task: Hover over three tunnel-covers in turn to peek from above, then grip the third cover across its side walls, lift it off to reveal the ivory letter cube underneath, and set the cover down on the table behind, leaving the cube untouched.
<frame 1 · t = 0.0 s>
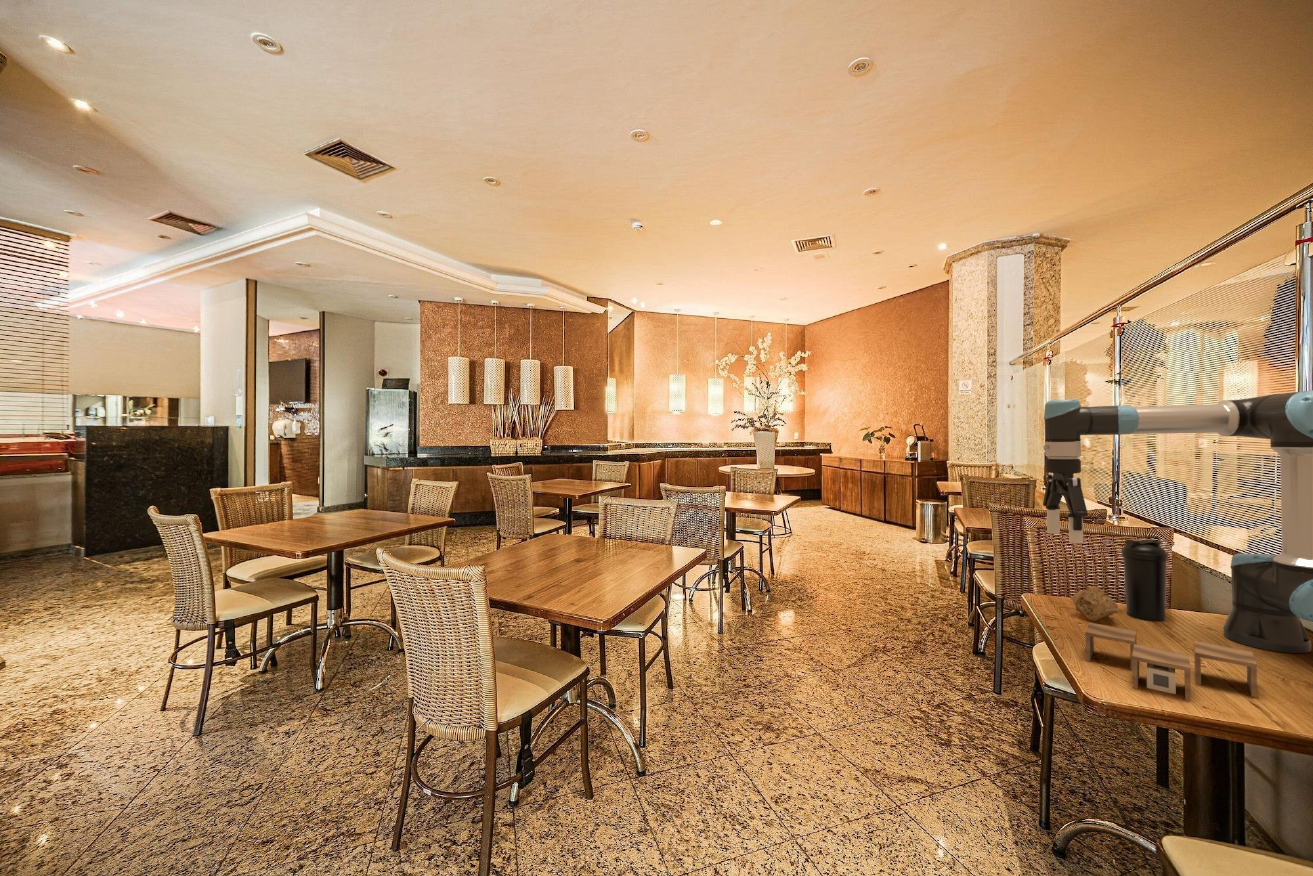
hand: (1064, 538, 141), 28 cm above the table, fingers open, 13 cm apart
water bottle: (1145, 617, 160), on the table
rock: (1099, 620, 158), on the table
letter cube: (1161, 687, 116), on the table
cover a: (1224, 683, 117), on the table
cover b: (1111, 659, 131), on the table
cover c: (1161, 687, 116), on the table
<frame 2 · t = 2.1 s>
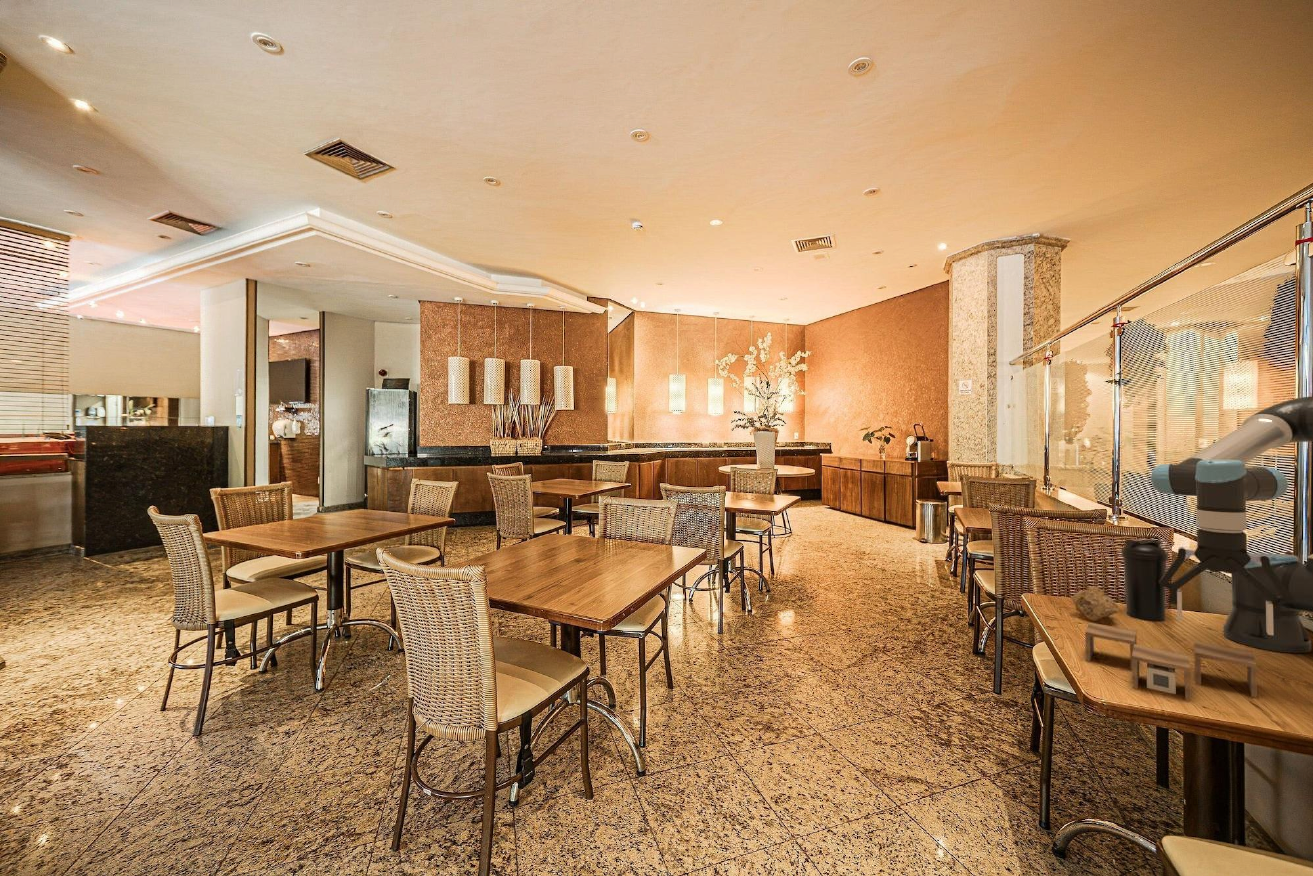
hand: (1223, 626, 117), 13 cm above the table, fingers open, 13 cm apart
nothing on the table moved.
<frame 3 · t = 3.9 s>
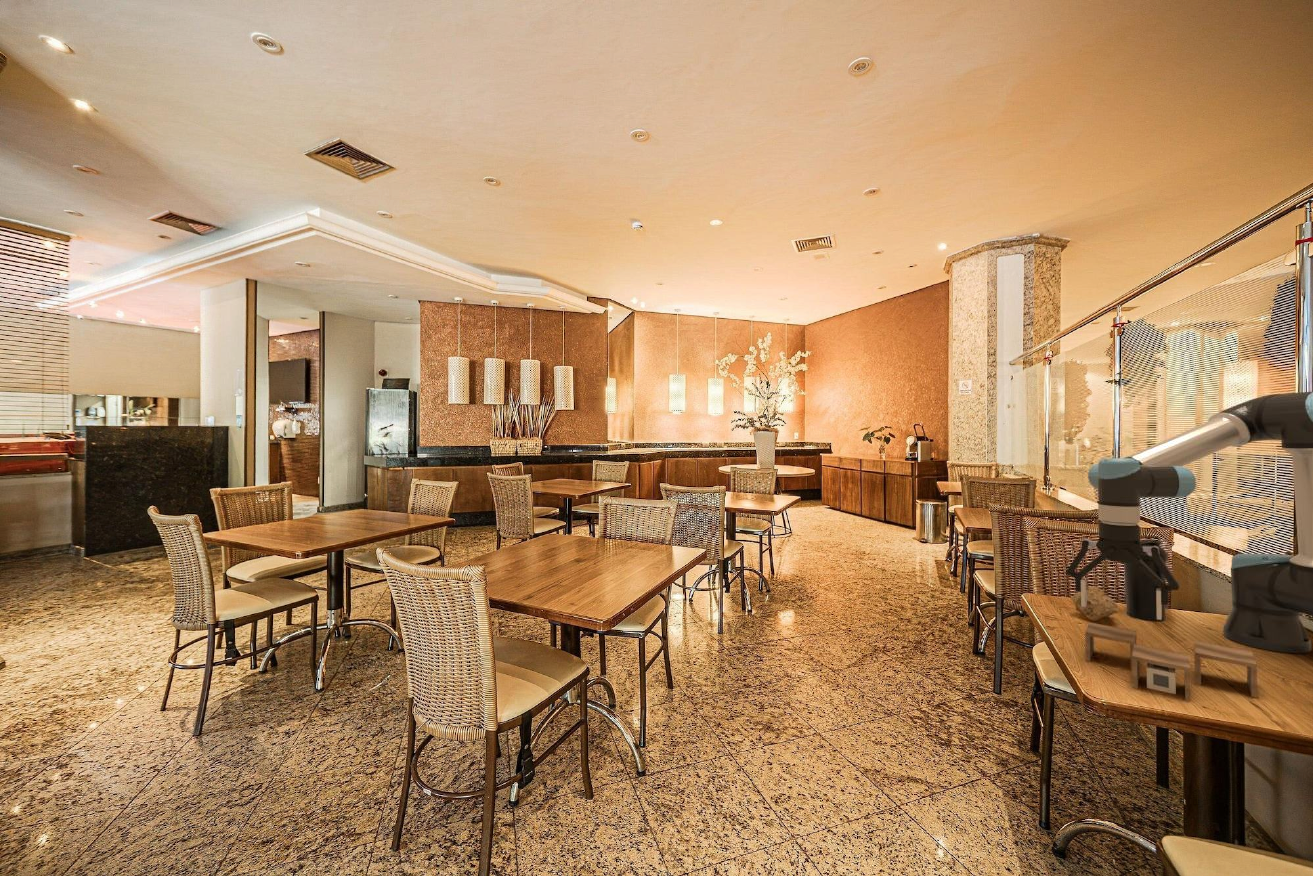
hand: (1120, 611, 127), 13 cm above the table, fingers open, 13 cm apart
nothing on the table moved.
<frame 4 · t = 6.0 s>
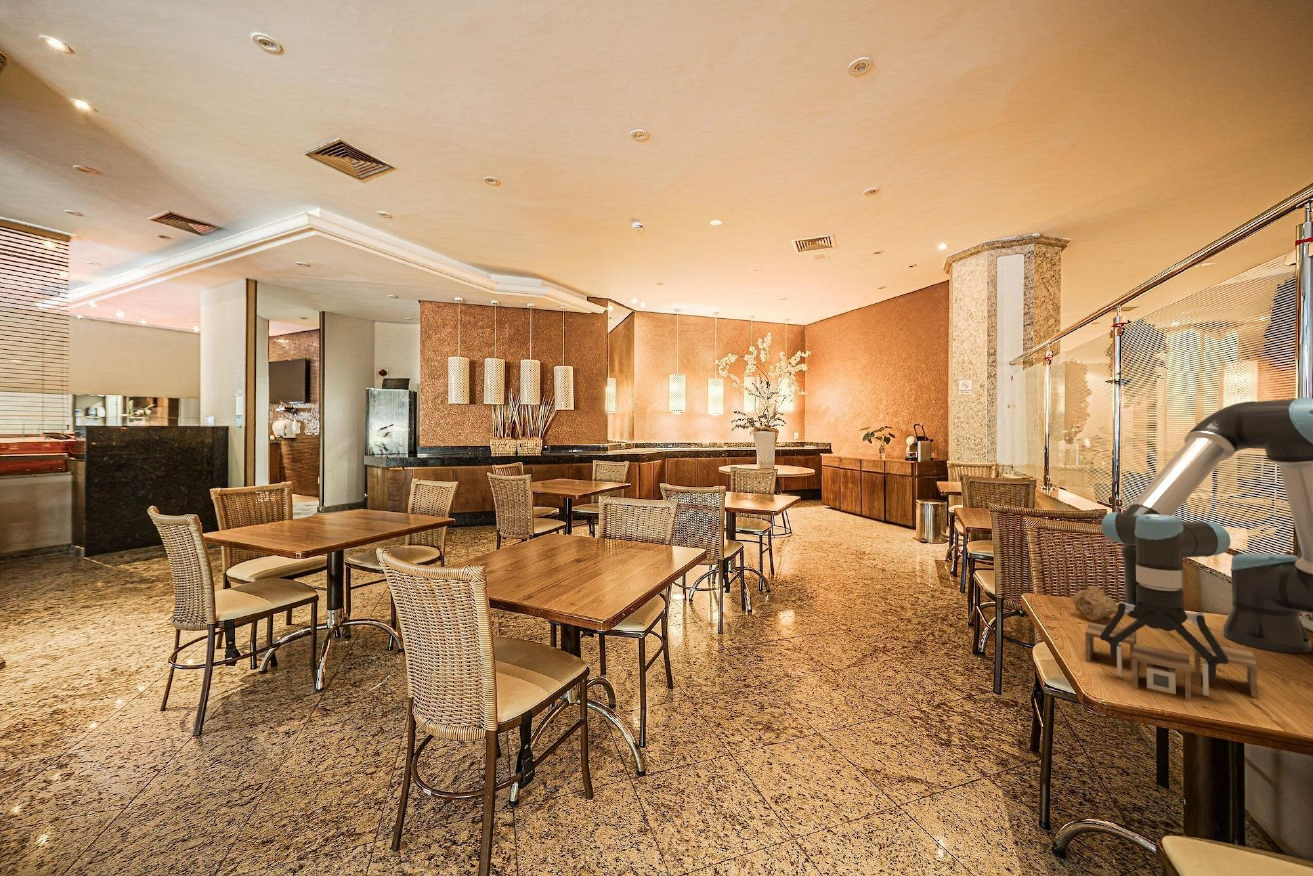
hand: (1161, 683, 116), 1 cm above the table, fingers open, 13 cm apart
nothing on the table moved.
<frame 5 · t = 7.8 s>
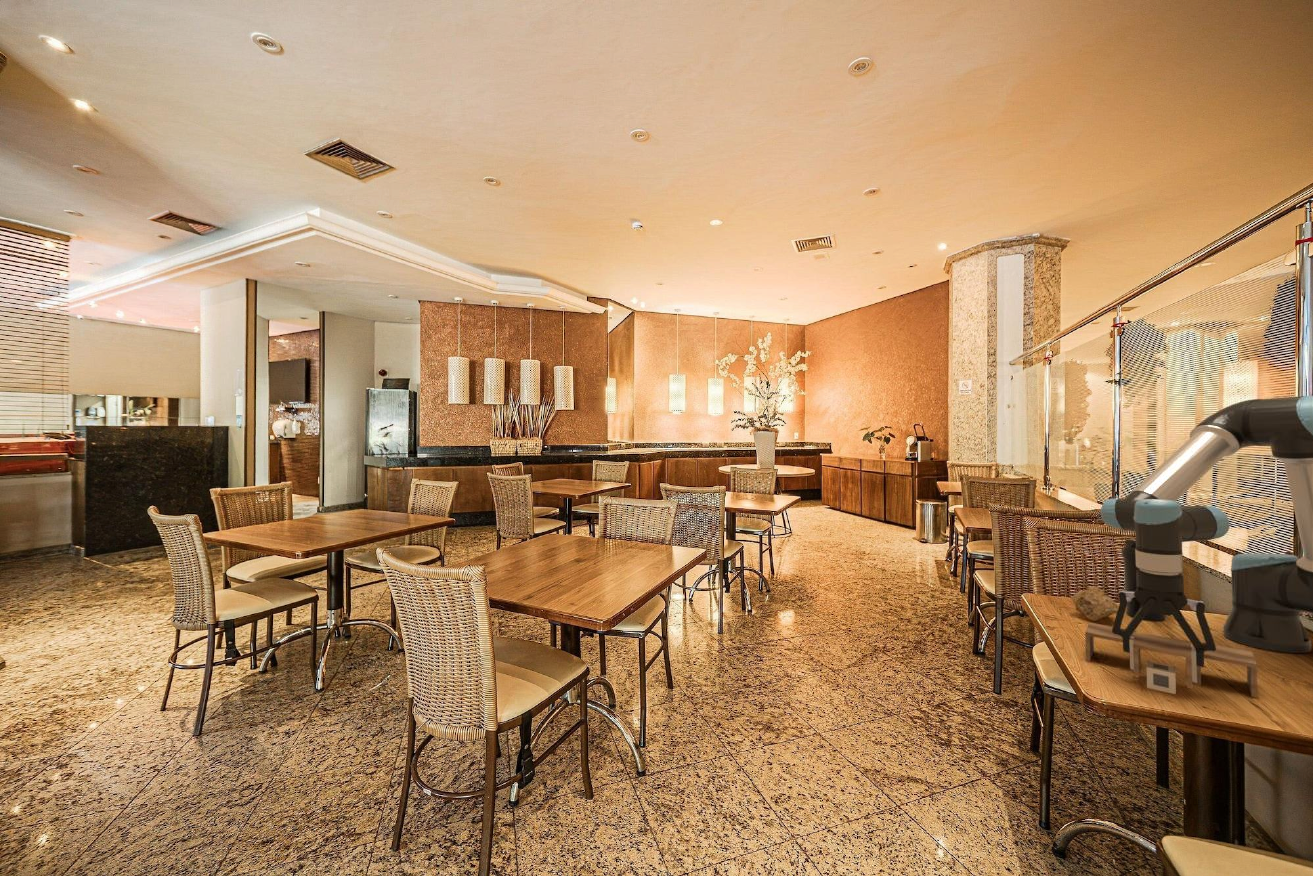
hand: (1162, 673, 116), 3 cm above the table, fingers closed on cover c, 9 cm apart
cover c: (1162, 674, 117), point 3 cm above the table, touching gripper
everything else where it was.
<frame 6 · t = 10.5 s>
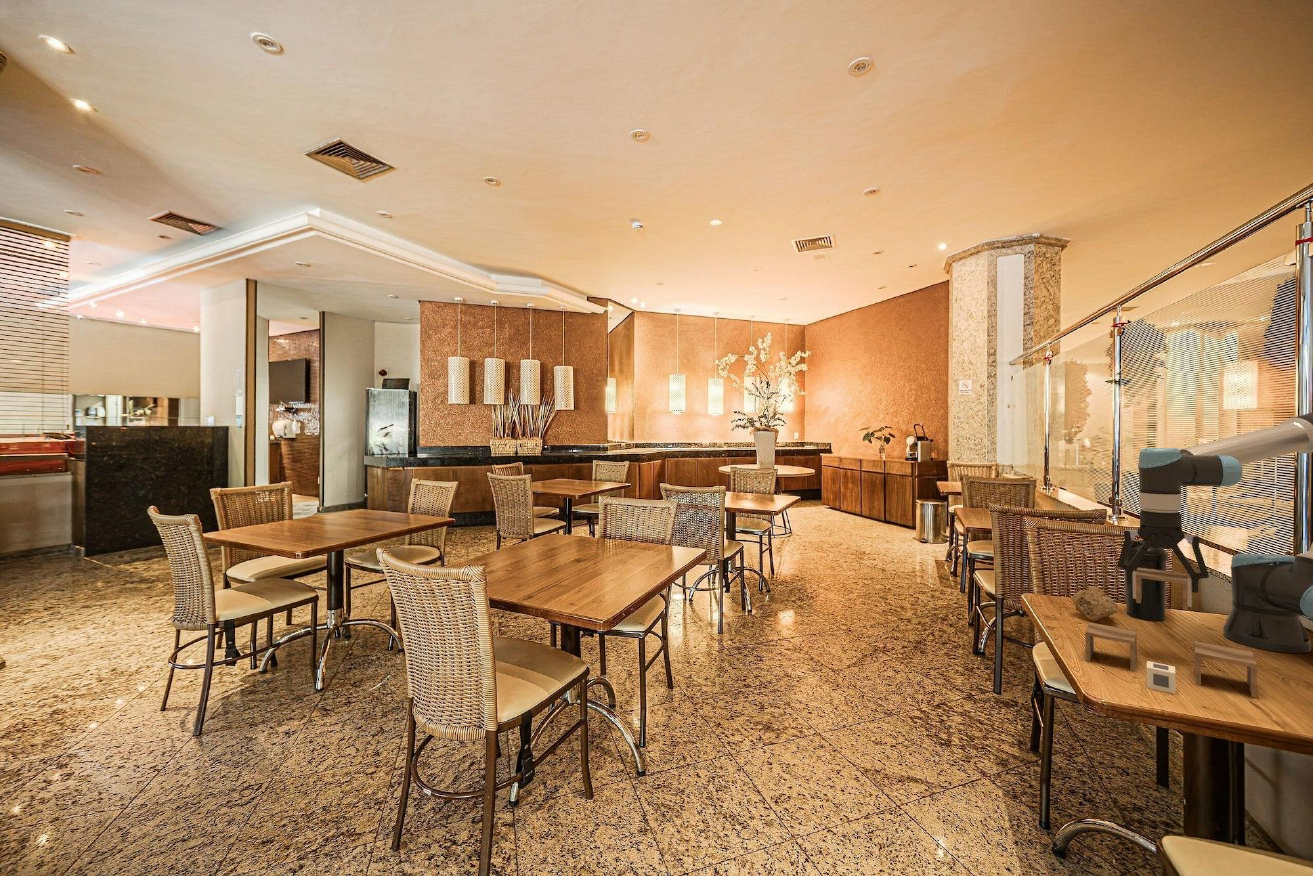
hand: (1161, 601, 132), 14 cm above the table, fingers closed on cover c, 9 cm apart
cover c: (1161, 602, 132), point 14 cm above the table, touching gripper
everything else where it was.
when the fingers open (1 cm above the table, at t = 13.5 s): cover c stays where it is, on the table.
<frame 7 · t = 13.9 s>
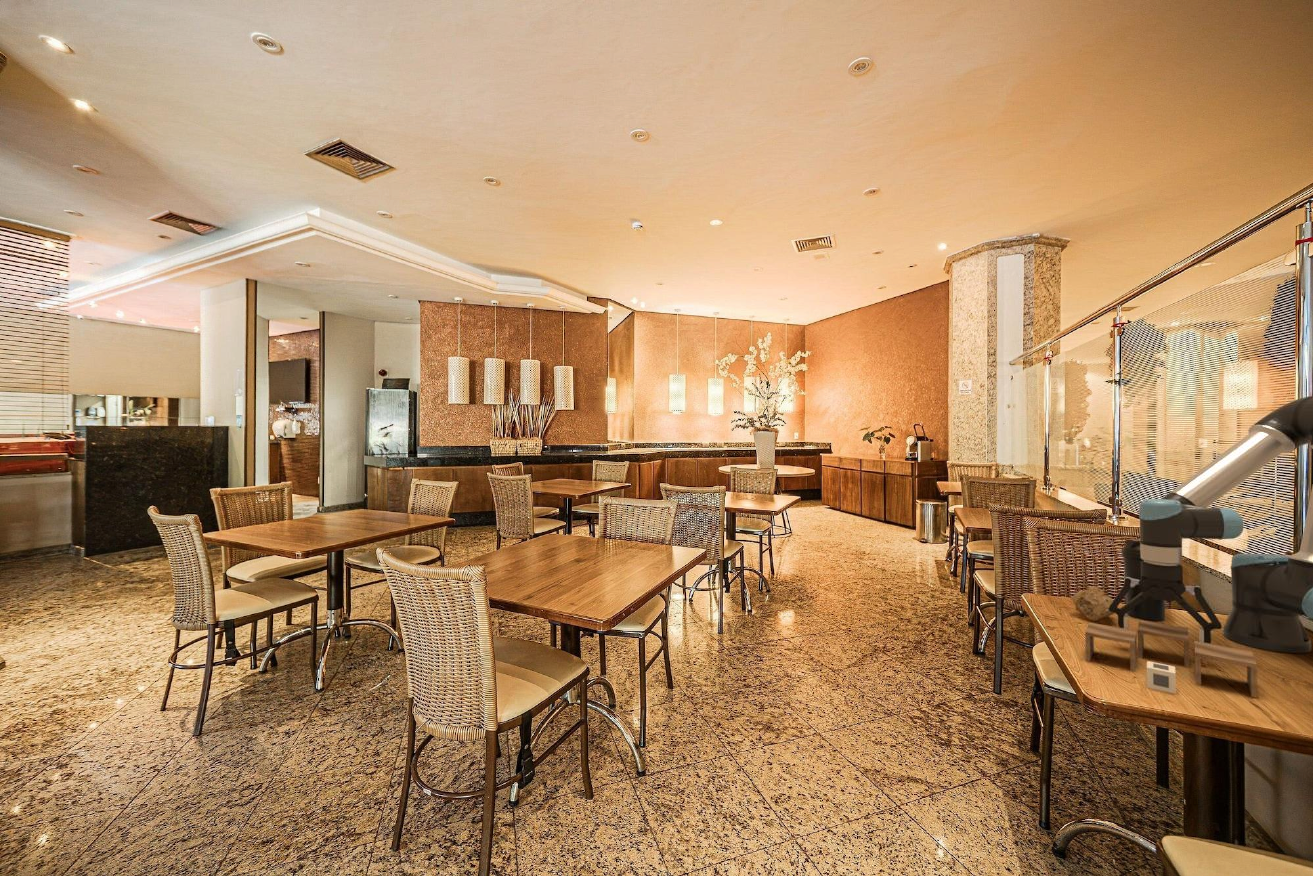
hand: (1162, 648, 132), 2 cm above the table, fingers open, 13 cm apart
cover c: (1163, 657, 132), on the table
everything else where it was.
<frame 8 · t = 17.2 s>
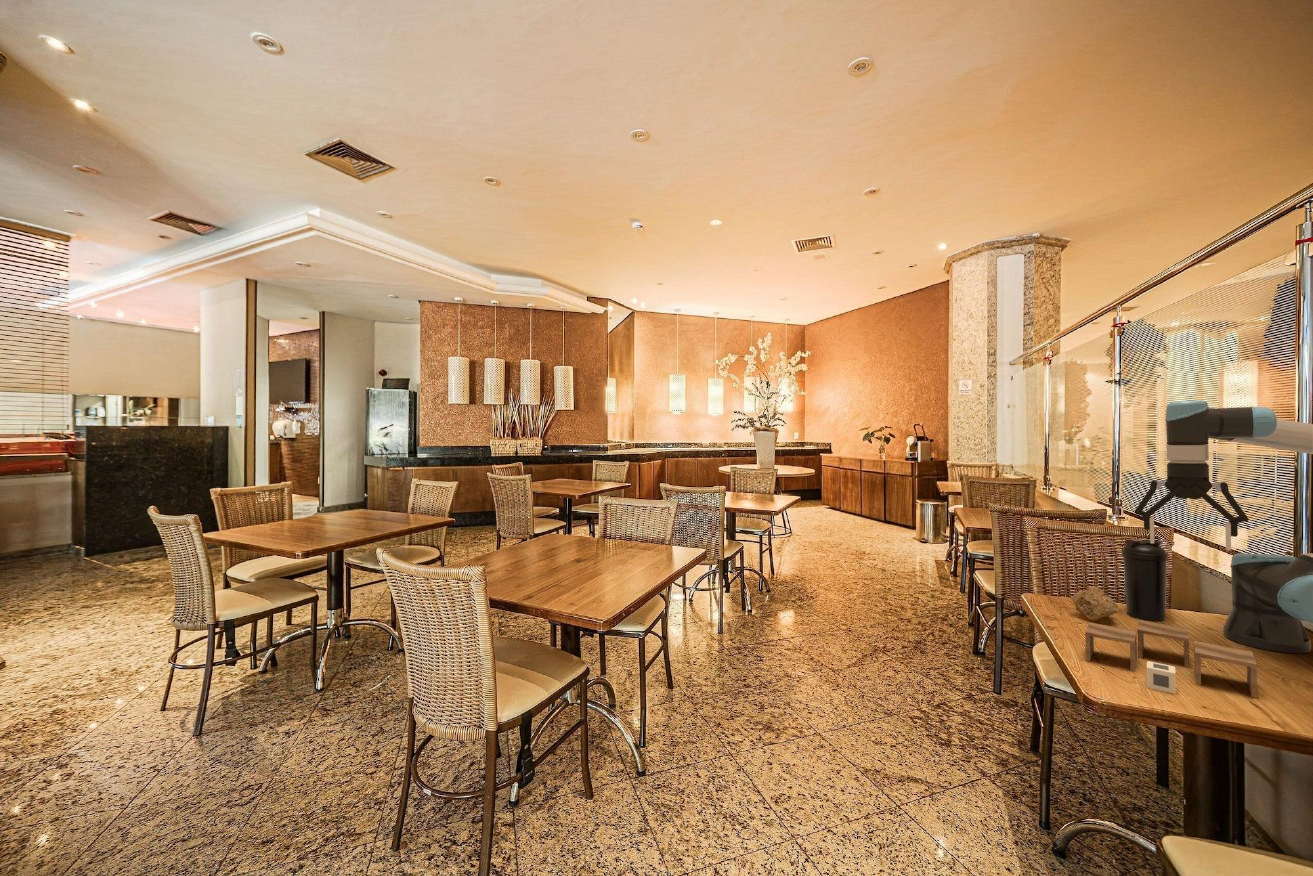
hand: (1189, 546, 134), 27 cm above the table, fingers open, 13 cm apart
nothing on the table moved.
at the end: cover c inside the target area (0.1 cm from its centre), on the table; cover c tilted 0°; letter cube moved 0.1 cm from its start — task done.
